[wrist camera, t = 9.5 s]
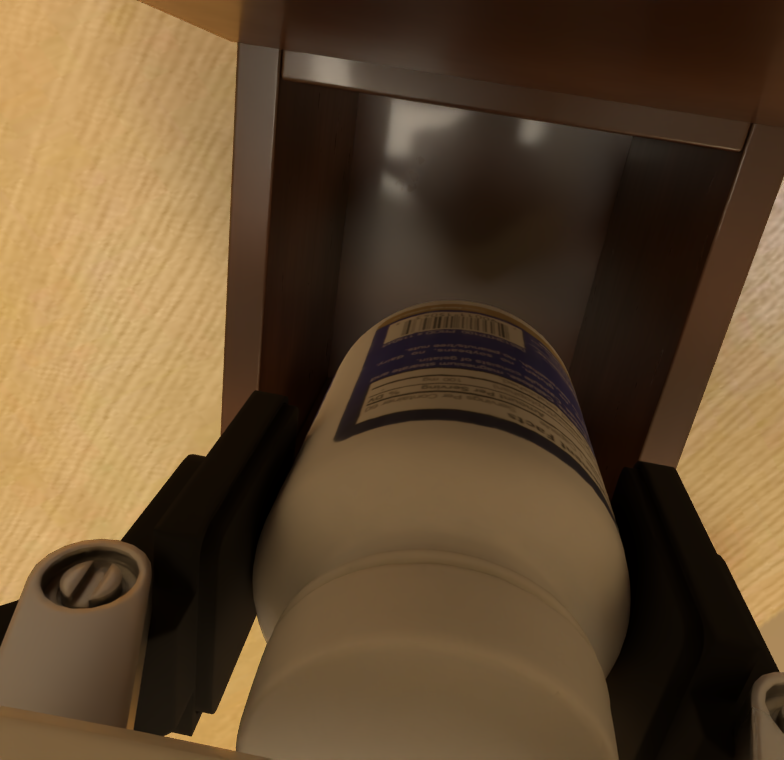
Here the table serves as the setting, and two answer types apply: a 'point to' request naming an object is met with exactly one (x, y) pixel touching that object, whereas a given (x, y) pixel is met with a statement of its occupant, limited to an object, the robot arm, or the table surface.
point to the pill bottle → (440, 558)
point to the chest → (488, 233)
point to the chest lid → (540, 44)
